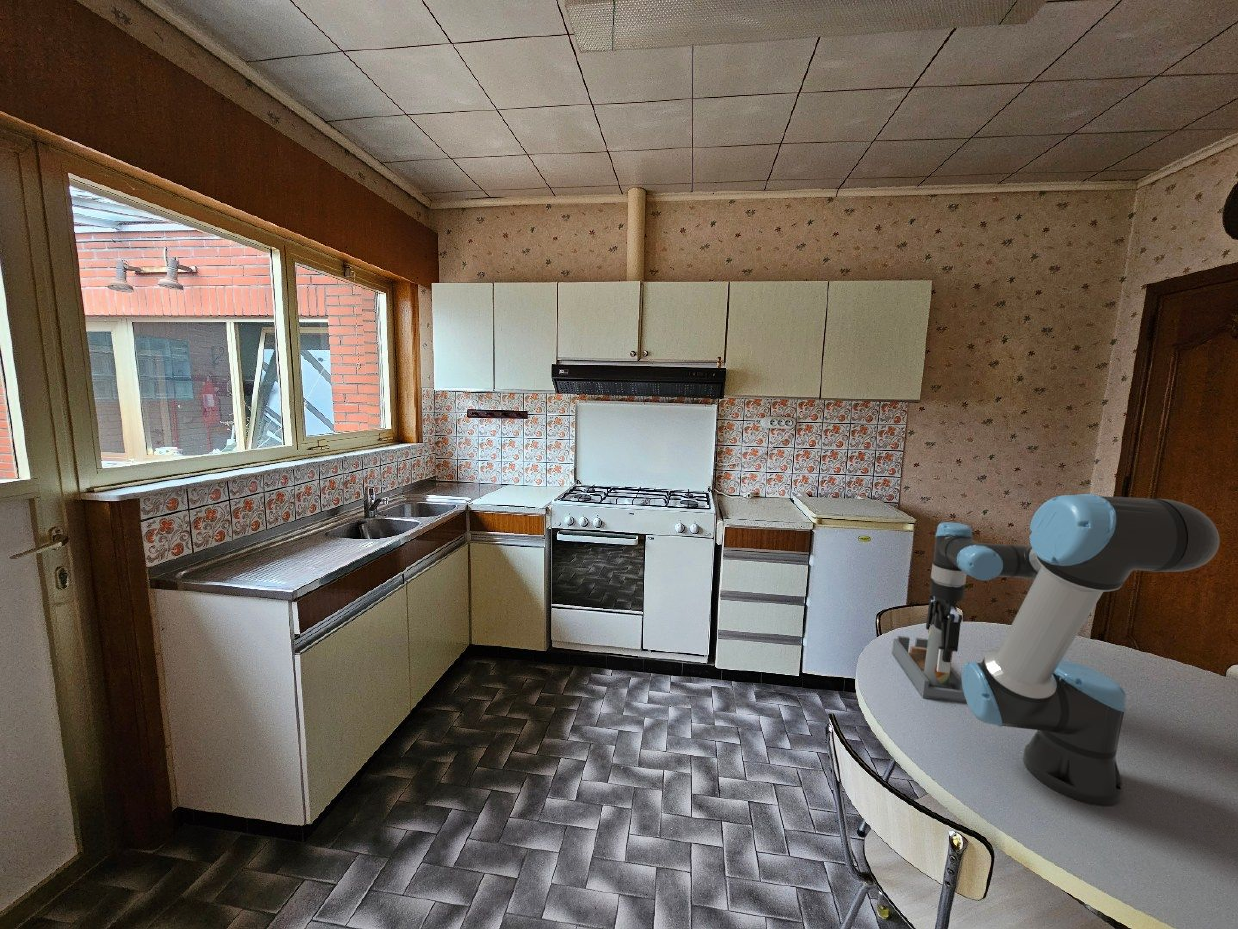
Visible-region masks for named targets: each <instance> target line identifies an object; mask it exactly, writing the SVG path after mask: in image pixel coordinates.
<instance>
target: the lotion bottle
mask: <svg viewBox="0 0 1238 929" xmlns="http://www.w3.org/2000/svg"><path fill="white" fill-rule="evenodd" d="M943 619H947V618H943ZM928 631H929V633H928V636H927V640H928V644H927V652H926V661H925V669H924V675H925V676H926V678H927V679H928V680H929V684H930V685H932V686H935V687H939V688H946V687H947V686H948V684H949V677H950V671H949V673H943V672H938V671H937V662H938V654H939V647H938V646H941V647H942V644H941V621H939V612H938V611H937V610H936V613H935V621H934V625H931V626H930V628H929V630H928ZM953 654H954V651H952V655H951V663H950V669H951V667H952V661H953Z"/></svg>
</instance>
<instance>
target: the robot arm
mask: <svg viewBox="0 0 1238 929" xmlns="http://www.w3.org/2000/svg"><path fill="white" fill-rule="evenodd" d="M936 528H937V529H936V533H935V536H934V537H935V542H934V549H933V562H932V566H931V574H930V578H931V580H930V584H929V593H930V594H929V595H928V609H927V615H926V623H925V624H926V625H925V629H926V630H928V631H927V632H928V634H929V628H930V626H931V625H934V621H935V613H936V610H937V611H938V612H939V621H941V644H942V647H941V646H938V647H939V654H938V662H937V671H938V672H943V673H949V671H950V663H951V664H952V661H951V655H952V656H953V654H952V651H953V653H955V652H956V653H957V652H958V651H959V642H960V634H961V633H960V632H961V624H962V620H963V614H958V612H957V611H958V610H957V603H959V602H961V601H963V600H964V598H965V592H966V591H965V590H966V586H965V585H966V583H967V582H966V580H967V576H970V577H972V578H974V579H976V580H979V581H989V580H992V579H996V578H997V577H1000V578H1001V577H1003V578H1018V579H1019V578H1020V579H1031V580H1033V582H1032V584H1031V586H1030V587H1029V590H1028V592H1027V594H1026V595H1025V598H1024V600H1023V602H1022V603H1021V605H1020V607H1019V610H1018V611H1017V614H1016V616H1015V617H1014V619H1013V621H1012V623H1011V625H1010V627H1009V629H1008V631H1007V633H1006V635H1005V638H1004V639H1003V641H1002V643H1001V645H1000V646H998V647H993V648H991V649H989V650H988V651H987V652H986V653H985V655H984V658H983V659H982V661H981V662H977V661H969V662H968V661H967V662H966V663H964V665H963V667H962V670H961V678H962V686H963V691H964V695H965V698H966V703H967V705H968V708H969V709H970V711H971V713H972V715H973V716H974V717H975V718H976V719H977V720H979V721H980V722H982V723H984V724H988V725H993V726H998V727H1000V728H1001V727H1008V728H1016V729H1026V730H1033V731H1034V730H1035V731H1036V732H1035V733H1034V735H1033V736H1032V737H1031V739H1030V741H1029V742H1028V744H1026V745H1025V747H1024V749H1023V750H1024V751H1023V757H1022V761H1023V764H1024V766H1025V768H1026V769H1027V770H1028V772H1029V773H1030V774H1031V775H1032V776H1033V777H1035V779H1037V781H1039V782H1040V783H1042V784H1044V785H1045V786H1047V787H1049V788H1050V789H1052V790H1054V791H1056V792H1058V793H1059V794H1061V795H1063V796H1065V797H1067V798H1070V799H1073V800H1075V801H1079V802H1081V803H1085V804H1088V805H1093V806H1097V807H1113V806H1116V805H1118V804H1120V803H1121V801H1122V798H1123V793H1124V792H1123V791H1124V786H1123V781H1122V778H1121V774H1120V770H1119V766H1118V763H1117V758H1116V756H1117V751H1118V744H1119V741H1120V740H1119V739H1120V735H1121V734H1120V733H1121V730H1122V729H1121V728H1122V723H1123V720H1124V719H1123V718H1124V714H1125V713H1126V710H1127V709H1126V697H1127V695H1126V691H1125V690H1124V688H1123V687H1122V685H1120V684H1119V683H1118V682H1117V681H1115V680H1114V679H1112V678H1111V677H1109V676H1108V675H1106V674H1104V673H1102V672H1100V671H1097V670H1095V669H1093V668H1090V667H1088V666H1085V665H1082V664H1080V663H1076V662H1073V661H1069V660H1064V659H1063V658H1064V657H1065V655H1066V653H1067V652H1068V650H1069V648H1070V647H1071V645H1072V644H1073V642H1074V640H1076V639H1075V638H1076V637H1077V636H1078V634H1079V633H1080V630H1081V629H1082V627H1083V626H1084V624H1085V622H1086V621H1087V620H1088V617H1089V616H1090V615H1091V613H1092V611H1093V609H1094V608H1095V606H1096V604H1097V603H1098V601H1099V600H1100V598H1101V596H1102V595H1103V593H1104V592H1114V591H1117V590H1119V589H1120V588H1122V587H1123V585H1124V583H1125V582H1126V580H1127V579H1128V577H1129V576H1130V574H1131V573H1132V572H1133V571H1143V572H1153V573H1154V572H1155V573H1157V572H1158V573H1159V572H1160V573H1161V572H1163V573H1166V572H1167V573H1168V572H1170V573H1171V572H1172V573H1176V572H1177V573H1178V572H1185V571H1186V572H1187V571H1190V570H1194V569H1198V568H1200V567H1202V566H1204V565H1206V564H1207V563H1209V561H1211V560H1212V559H1213V558H1214V557H1215V555H1216V554H1217V553H1218V550H1219V548H1220V540H1221V539H1220V534H1219V531H1218V529H1217V527H1216V525H1215V524H1214V522H1213V521H1212V520H1211V518H1209V517H1208V516H1207V515H1206V514H1205V513H1203V512H1202V511H1201V510H1199V509H1197V508H1195V507H1193V506H1192V505H1189V504H1186V503H1184V502H1181V501H1176V500H1172V499H1167V498H1166V499H1165V498H1157V497H1156V498H1155V497H1154V498H1147V497H1145V498H1144V497H1126V496H1125V497H1124V496H1102V495H1096V494H1090V493H1081V494H1063V495H1059V496H1054V497H1052V498H1050V499H1048V500H1046V501H1045V502H1044V503H1043V504H1042V505H1040V507H1039V508H1038V509H1037V510H1036V511H1035V513H1034V515H1033V517H1032V519H1031V522H1030V526H1029V531H1031V534H1029V536H1028V537H1029V542H1030V543H1029V544H1030V545H1014V544H1002V543H1001V544H999V543H986V542H985V543H984V542H978V541H976V540H974V539H973V529H972V527H971V526H969V525H967V524H963V523H959V522H951V521H950V522H949V521H946V522H945V521H943V522H940V523H939V524H938V525H937V527H936ZM943 618H947V619H943Z"/></svg>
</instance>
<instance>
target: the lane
mask: <svg viewBox="0 0 1238 929" xmlns="http://www.w3.org/2000/svg"><path fill="white" fill-rule="evenodd" d="M910 640H911V639H910V637H909V636H904V635H897V638H893V640H892V641H893V642H892V652H891V654H892V656H893V657H894V659H895V661H896V662H897V663H898V665H899V667H900V668H901V669H902V670H903V672H904V674H905V675H906V676H907V678H908V679H909V681H910V682H911V684H912V685H913V686H914V688H915V689H916V692H918V694H919V696H920V697H921V698H922V699H923V700H924V699H925V700H931V699H932V700H933V701H940V700H942V701H943V702H949V701H950V702H951V703H959V704H966V703H967V701H966V698H965V695H964V691H963V686H962V676H960V675H959V673H958V672H957V671H956V670H955V669H954V668H953V667H952V666H951V669H950V677H949V684H948V686H947V687H946V688H939V687H935V686H932V685H930V684H929V680H928V679H927V678H926V676H925V675H924V670H922V669H920V668H919V667H918V666H917V664H916V663H915V662H914V660H913V659H912V658H911V656H910V652H909V650H910V648H909V647H910ZM927 644H928V638H925V637H924V638H923V637H915V641H914V646H916V647H923V648H927ZM932 700H931V701H932Z"/></svg>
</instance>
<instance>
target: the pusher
mask: <svg viewBox="0 0 1238 929" xmlns="http://www.w3.org/2000/svg"><path fill="white" fill-rule="evenodd" d="M909 647H910V648H909V653H910V656H911V658H912V659H913V660H914V662H915V663H916V664H917V666H918V667H919V668H920V669H922V670H924V669H925V661H926V652H927V648H923V647H916V646H915V645H913V646H911V645H909Z"/></svg>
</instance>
